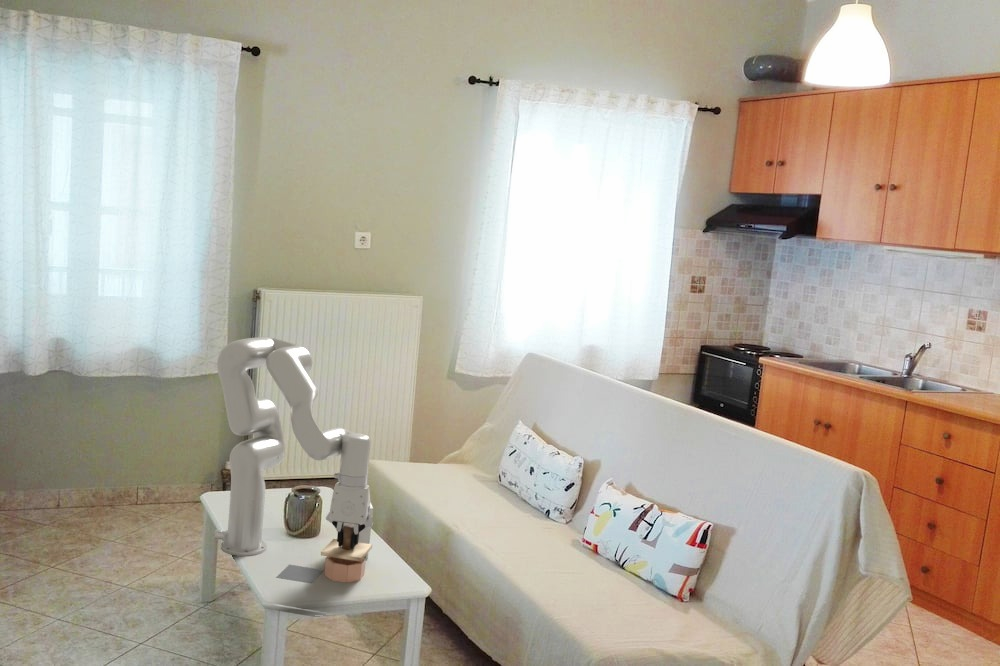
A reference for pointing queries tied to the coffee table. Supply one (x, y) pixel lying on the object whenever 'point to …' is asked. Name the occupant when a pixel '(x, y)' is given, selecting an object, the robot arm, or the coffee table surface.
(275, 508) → the coffee table surface
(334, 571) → the bowl
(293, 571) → the mat
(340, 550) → the lid
